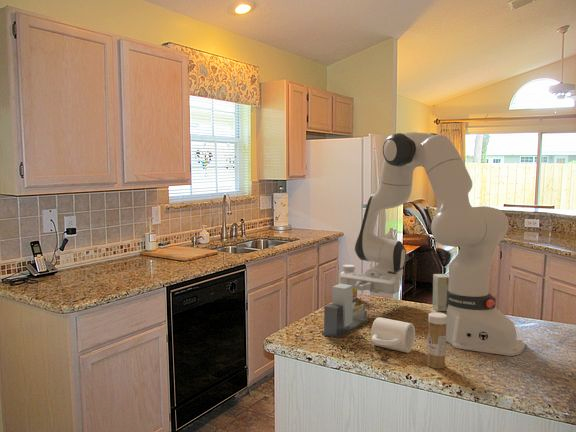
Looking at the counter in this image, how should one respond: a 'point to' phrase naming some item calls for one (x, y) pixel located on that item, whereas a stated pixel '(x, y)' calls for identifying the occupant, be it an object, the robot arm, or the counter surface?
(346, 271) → the supplement bottle
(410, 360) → the counter surface
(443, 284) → the skincare box
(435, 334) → the sprinkles bottle
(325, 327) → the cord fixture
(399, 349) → the mug
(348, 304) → the box sleeve
